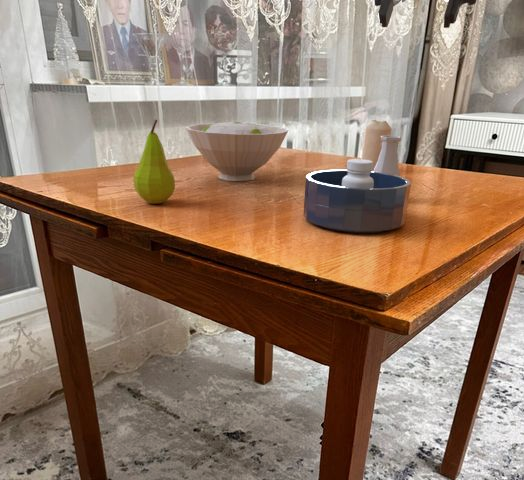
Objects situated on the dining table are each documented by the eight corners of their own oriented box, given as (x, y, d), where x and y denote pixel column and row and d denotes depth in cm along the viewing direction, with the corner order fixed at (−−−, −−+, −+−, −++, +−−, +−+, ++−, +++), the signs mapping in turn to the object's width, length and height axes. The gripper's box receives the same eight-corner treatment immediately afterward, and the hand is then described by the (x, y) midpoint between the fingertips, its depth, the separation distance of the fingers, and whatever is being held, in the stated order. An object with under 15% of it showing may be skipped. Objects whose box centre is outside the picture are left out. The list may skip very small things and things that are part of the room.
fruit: (126, 202, 84) (119, 118, 78) (158, 196, 88) (153, 116, 83) (153, 209, 80) (147, 122, 75) (184, 203, 84) (181, 120, 79)
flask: (369, 204, 87) (377, 138, 83) (355, 195, 94) (362, 133, 89) (411, 204, 88) (421, 139, 84) (395, 195, 95) (403, 134, 90)
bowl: (253, 192, 93) (255, 130, 89) (165, 178, 102) (162, 121, 97) (302, 176, 108) (306, 122, 104) (222, 165, 117) (222, 115, 112)
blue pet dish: (415, 219, 80) (422, 177, 77) (386, 242, 69) (393, 194, 66) (326, 205, 86) (329, 166, 83) (286, 225, 75) (289, 180, 72)
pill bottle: (369, 214, 79) (376, 159, 75) (369, 222, 75) (376, 164, 71) (339, 212, 79) (344, 157, 76) (337, 220, 76) (343, 162, 72)
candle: (391, 170, 118) (397, 120, 113) (377, 173, 114) (383, 122, 109) (369, 167, 121) (375, 118, 116) (355, 169, 117) (360, 119, 113)
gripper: (391, -88, 77) (361, -2, 73) (497, -96, 72) (471, -4, 68) (394, -37, 84) (366, 44, 80) (491, -41, 79) (466, 46, 75)
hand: (414, 22), depth 74 cm, fingers open, 8 cm apart
